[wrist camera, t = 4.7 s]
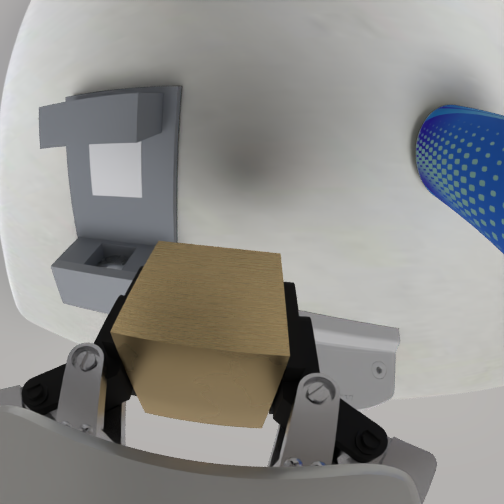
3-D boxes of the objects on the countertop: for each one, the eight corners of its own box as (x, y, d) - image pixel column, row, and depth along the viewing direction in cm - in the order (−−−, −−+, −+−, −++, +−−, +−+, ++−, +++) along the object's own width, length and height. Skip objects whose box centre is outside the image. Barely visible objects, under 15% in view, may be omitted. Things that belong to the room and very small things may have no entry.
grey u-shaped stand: (72, 96, 17) (25, 103, 12) (181, 86, 17) (151, 83, 12) (99, 302, 28) (77, 339, 23) (181, 316, 28) (167, 360, 23)
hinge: (401, 328, 29) (407, 409, 23) (378, 343, 33) (381, 416, 26) (269, 303, 27) (258, 405, 21) (256, 322, 31) (245, 410, 24)
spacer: (158, 240, 10) (110, 331, 6) (280, 253, 10) (290, 356, 6) (168, 330, 13) (145, 412, 9) (262, 341, 13) (261, 428, 9)
